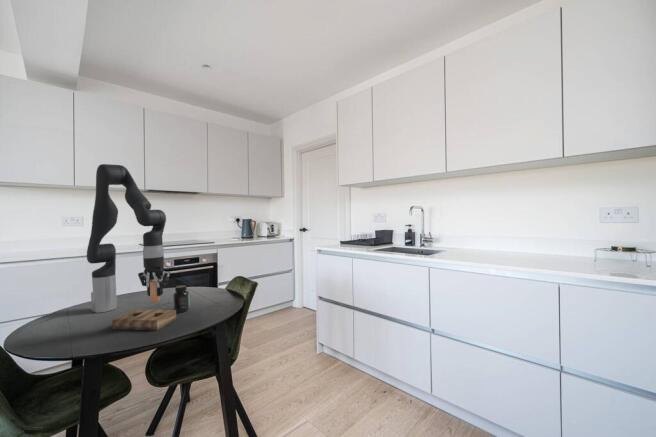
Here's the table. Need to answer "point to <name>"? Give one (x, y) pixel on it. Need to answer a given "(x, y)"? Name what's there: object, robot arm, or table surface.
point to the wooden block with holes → (144, 319)
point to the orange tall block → (154, 292)
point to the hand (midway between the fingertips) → (155, 295)
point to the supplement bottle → (181, 299)
